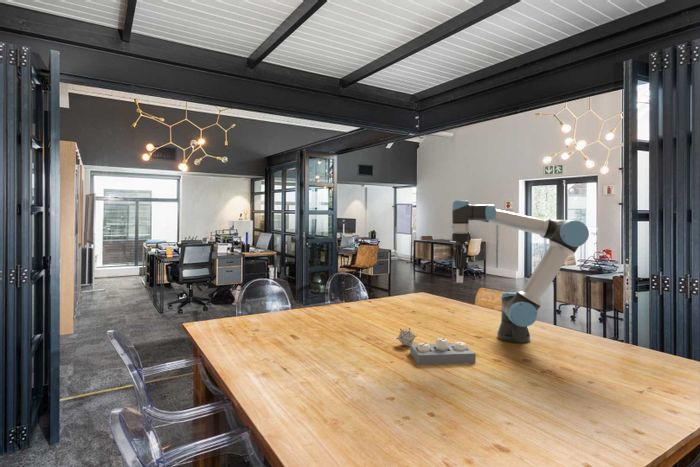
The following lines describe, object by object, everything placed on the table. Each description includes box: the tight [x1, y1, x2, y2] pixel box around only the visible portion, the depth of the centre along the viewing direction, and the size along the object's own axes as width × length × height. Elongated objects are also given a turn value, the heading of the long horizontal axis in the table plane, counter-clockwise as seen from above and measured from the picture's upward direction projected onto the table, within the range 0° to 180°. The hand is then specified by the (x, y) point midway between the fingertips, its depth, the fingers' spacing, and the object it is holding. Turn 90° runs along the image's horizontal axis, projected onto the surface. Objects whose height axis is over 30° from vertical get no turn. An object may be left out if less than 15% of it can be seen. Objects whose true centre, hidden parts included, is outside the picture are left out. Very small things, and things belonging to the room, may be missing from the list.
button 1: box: [453, 341, 467, 351], centre depth 172 cm, size 5×5×5 cm
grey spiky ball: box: [396, 327, 418, 348], centre depth 188 cm, size 9×8×10 cm
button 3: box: [417, 342, 430, 352], centre depth 171 cm, size 5×5×5 cm
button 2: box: [435, 337, 449, 351], centre depth 171 cm, size 5×5×5 cm
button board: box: [409, 342, 477, 366], centre depth 172 cm, size 24×14×4 cm, turn 96°
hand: (459, 282), depth 191 cm, fingers closed
